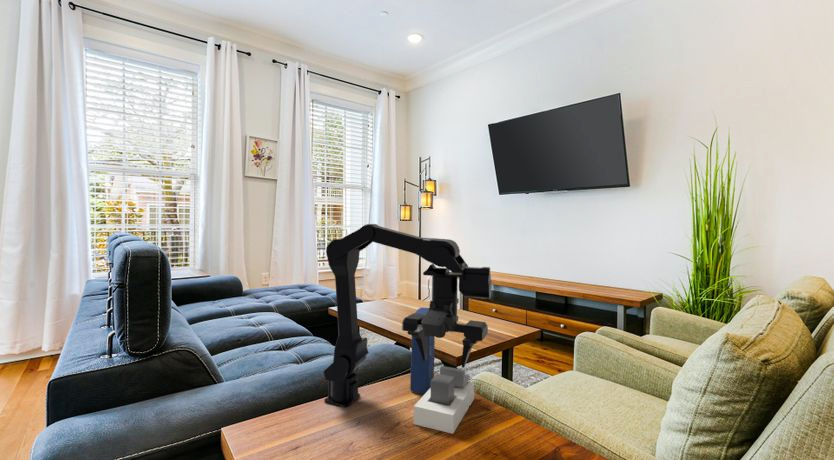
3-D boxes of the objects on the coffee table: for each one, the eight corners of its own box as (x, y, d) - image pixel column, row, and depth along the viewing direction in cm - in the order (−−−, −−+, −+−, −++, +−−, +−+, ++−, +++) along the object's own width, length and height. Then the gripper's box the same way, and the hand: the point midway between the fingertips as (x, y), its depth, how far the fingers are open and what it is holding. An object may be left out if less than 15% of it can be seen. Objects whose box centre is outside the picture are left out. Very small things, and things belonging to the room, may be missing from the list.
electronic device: (429, 394, 99) (430, 317, 98) (409, 392, 100) (410, 315, 99) (434, 379, 109) (436, 308, 108) (416, 377, 110) (417, 307, 109)
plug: (436, 405, 92) (437, 373, 91) (453, 409, 90) (454, 377, 90) (430, 413, 88) (430, 380, 87) (447, 418, 86) (448, 384, 86)
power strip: (413, 424, 85) (413, 406, 85) (440, 391, 101) (440, 376, 101) (452, 433, 82) (453, 415, 82) (474, 398, 97) (474, 383, 97)
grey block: (439, 383, 96) (440, 367, 96) (447, 375, 101) (447, 359, 101) (463, 388, 94) (463, 371, 93) (469, 379, 99) (470, 363, 98)
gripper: (391, 298, 84) (390, 369, 85) (475, 307, 77) (474, 385, 77) (412, 289, 94) (411, 353, 95) (488, 296, 87) (487, 365, 88)
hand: (443, 363), depth 88 cm, fingers open, 9 cm apart
